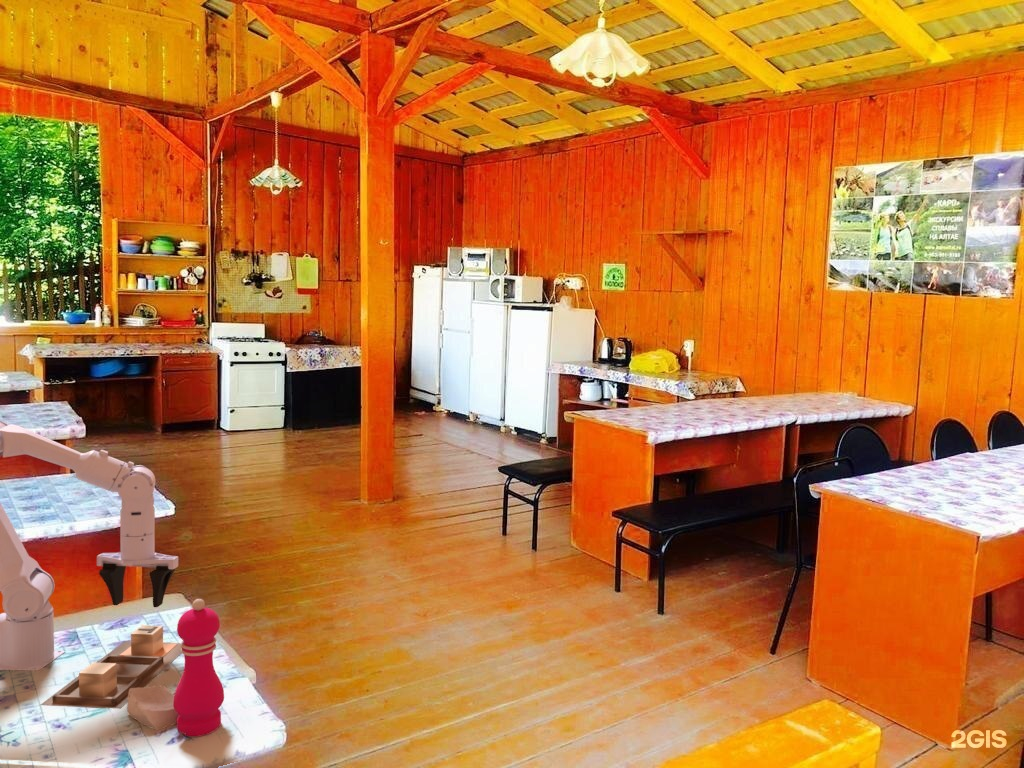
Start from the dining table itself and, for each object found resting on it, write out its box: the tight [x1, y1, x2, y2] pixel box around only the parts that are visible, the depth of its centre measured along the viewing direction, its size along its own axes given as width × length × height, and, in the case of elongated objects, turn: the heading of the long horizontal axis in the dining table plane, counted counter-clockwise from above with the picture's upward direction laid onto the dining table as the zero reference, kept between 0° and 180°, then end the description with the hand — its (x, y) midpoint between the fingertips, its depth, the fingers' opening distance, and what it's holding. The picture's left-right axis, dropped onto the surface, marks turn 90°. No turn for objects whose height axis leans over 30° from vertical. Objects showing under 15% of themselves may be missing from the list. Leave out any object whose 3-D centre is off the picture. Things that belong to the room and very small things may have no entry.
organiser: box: [40, 640, 182, 709], centre depth 135 cm, size 13×25×2 cm, turn 178°
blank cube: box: [78, 661, 117, 697], centre depth 127 cm, size 4×4×4 cm
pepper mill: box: [173, 598, 225, 738], centre depth 118 cm, size 7×7×20 cm
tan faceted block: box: [126, 685, 179, 731], centre depth 120 cm, size 10×6×6 cm, turn 40°
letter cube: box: [130, 624, 164, 656], centre depth 143 cm, size 4×4×4 cm
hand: (138, 604), depth 144 cm, fingers open, 7 cm apart
